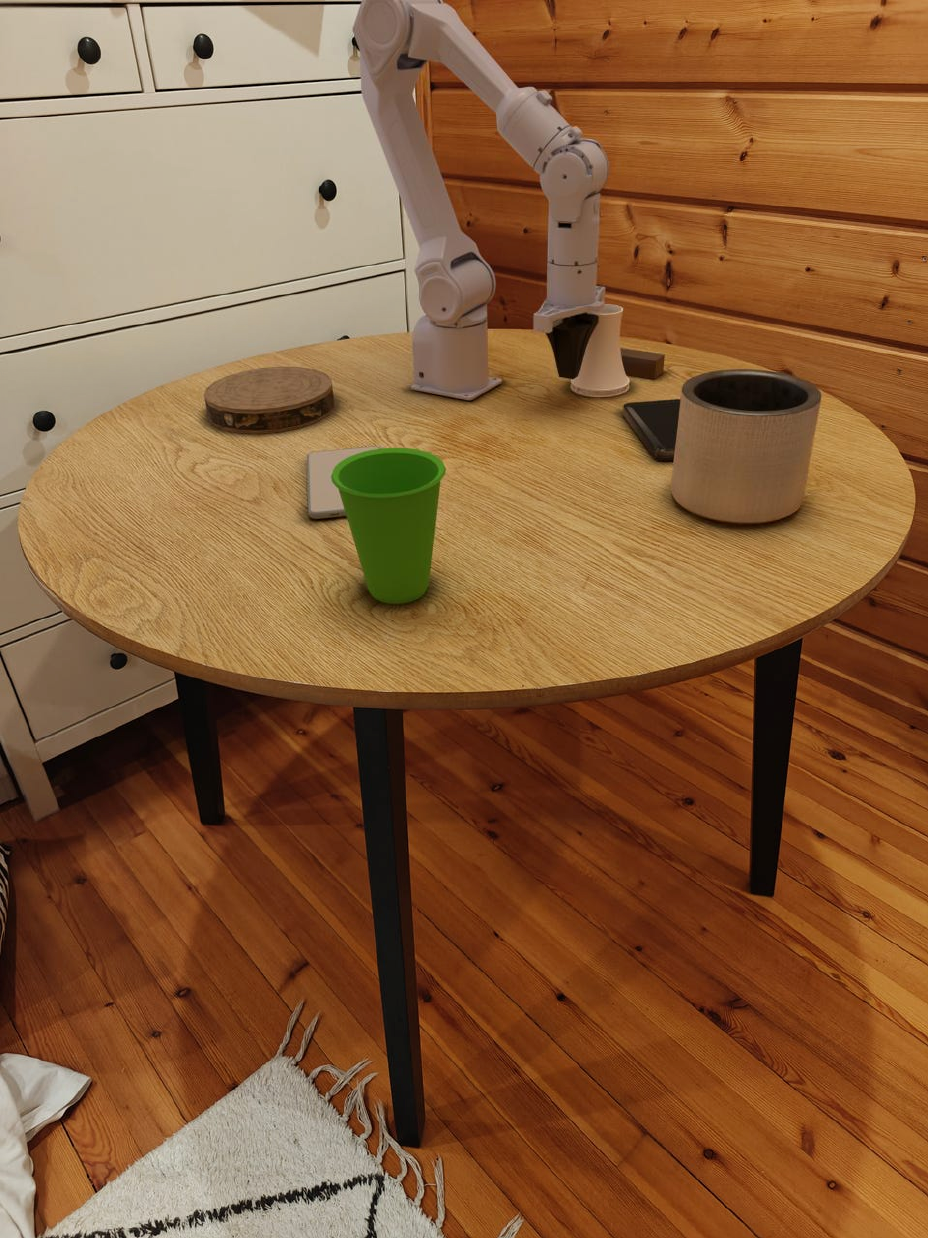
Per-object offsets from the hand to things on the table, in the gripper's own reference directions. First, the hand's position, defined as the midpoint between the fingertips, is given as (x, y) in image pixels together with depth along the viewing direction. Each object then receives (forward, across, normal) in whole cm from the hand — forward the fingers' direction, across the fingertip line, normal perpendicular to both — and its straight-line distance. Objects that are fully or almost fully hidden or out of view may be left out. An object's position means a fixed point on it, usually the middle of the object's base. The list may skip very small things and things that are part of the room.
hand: (568, 376), depth 111 cm
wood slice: (+4, -20, +32) cm, 38 cm away
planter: (+3, -16, -27) cm, 32 cm away
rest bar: (+3, +14, 0) cm, 15 cm away
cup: (+3, -46, -8) cm, 47 cm away
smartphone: (+3, -32, +9) cm, 34 cm away
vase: (+4, +7, -1) cm, 8 cm away
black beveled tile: (+3, -4, -15) cm, 16 cm away
